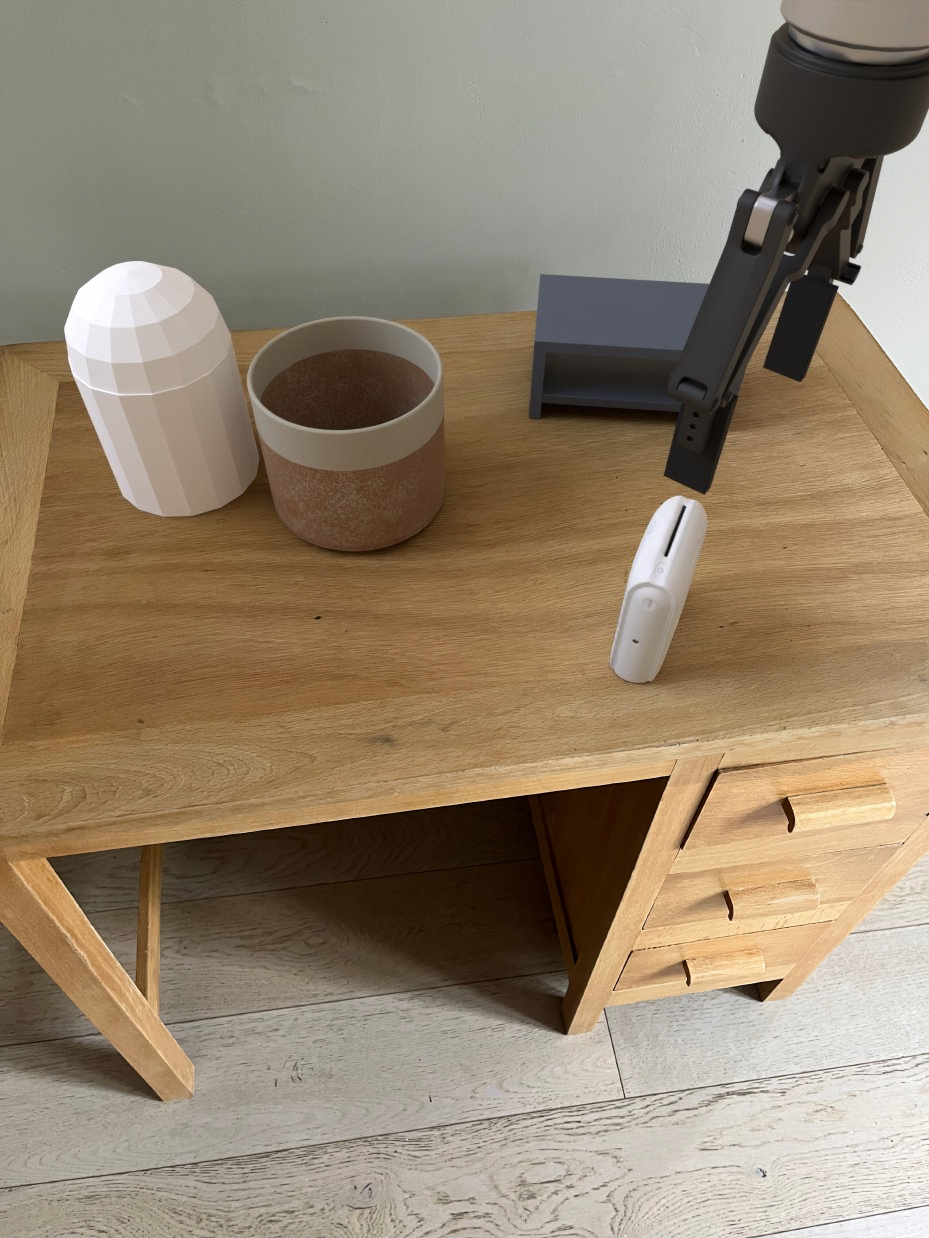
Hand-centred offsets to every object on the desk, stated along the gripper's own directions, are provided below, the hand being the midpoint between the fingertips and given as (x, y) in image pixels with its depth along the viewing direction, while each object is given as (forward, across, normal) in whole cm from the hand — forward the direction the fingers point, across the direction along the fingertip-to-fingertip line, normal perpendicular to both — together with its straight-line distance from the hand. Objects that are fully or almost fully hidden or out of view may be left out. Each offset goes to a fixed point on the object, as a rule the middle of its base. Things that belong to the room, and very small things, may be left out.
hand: (738, 424), depth 54 cm
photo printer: (+21, +2, -2) cm, 21 cm away
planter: (+21, +4, -31) cm, 38 cm away
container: (+21, +11, -46) cm, 52 cm away
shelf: (+21, -26, -20) cm, 39 cm away
